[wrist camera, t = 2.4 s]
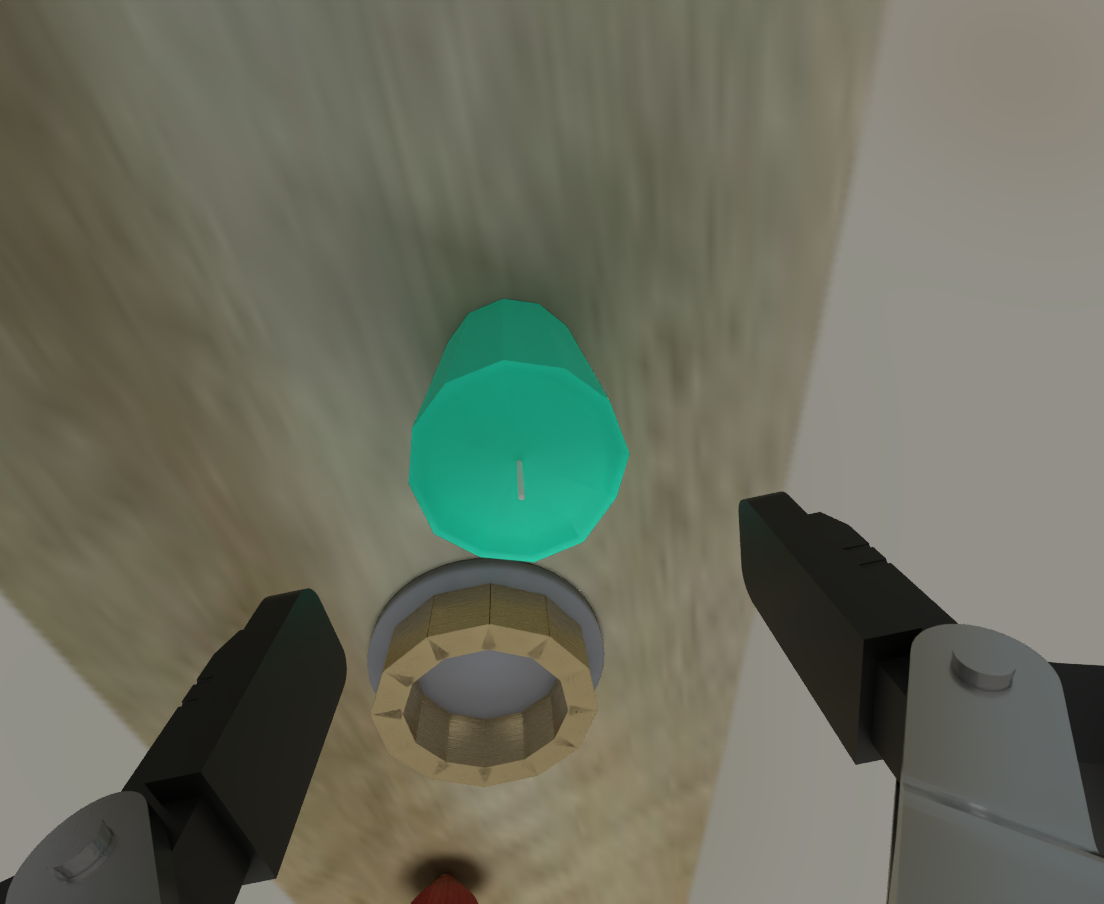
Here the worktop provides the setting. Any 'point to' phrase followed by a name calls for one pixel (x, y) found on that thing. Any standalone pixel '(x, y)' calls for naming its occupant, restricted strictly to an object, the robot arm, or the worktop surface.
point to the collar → (476, 743)
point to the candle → (515, 438)
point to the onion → (445, 892)
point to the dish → (486, 676)
